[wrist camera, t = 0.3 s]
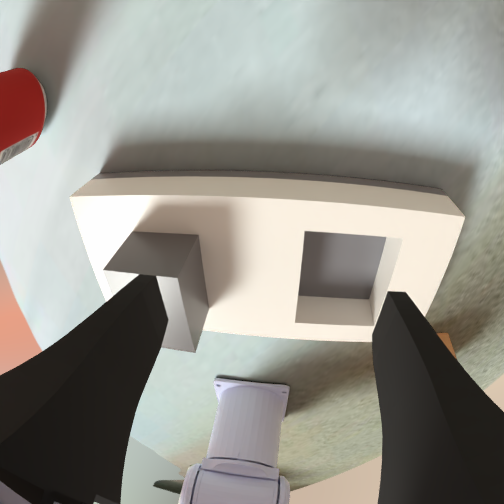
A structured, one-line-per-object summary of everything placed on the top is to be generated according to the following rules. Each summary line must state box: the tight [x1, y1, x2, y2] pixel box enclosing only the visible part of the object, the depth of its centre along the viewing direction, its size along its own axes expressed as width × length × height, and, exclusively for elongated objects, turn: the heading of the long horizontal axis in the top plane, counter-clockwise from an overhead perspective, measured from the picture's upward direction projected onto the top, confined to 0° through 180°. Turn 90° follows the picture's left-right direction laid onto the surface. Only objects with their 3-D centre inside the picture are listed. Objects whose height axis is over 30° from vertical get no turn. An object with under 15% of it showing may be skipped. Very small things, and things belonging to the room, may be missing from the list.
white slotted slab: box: [70, 170, 465, 353], centre depth 17 cm, size 22×10×7 cm, turn 91°
